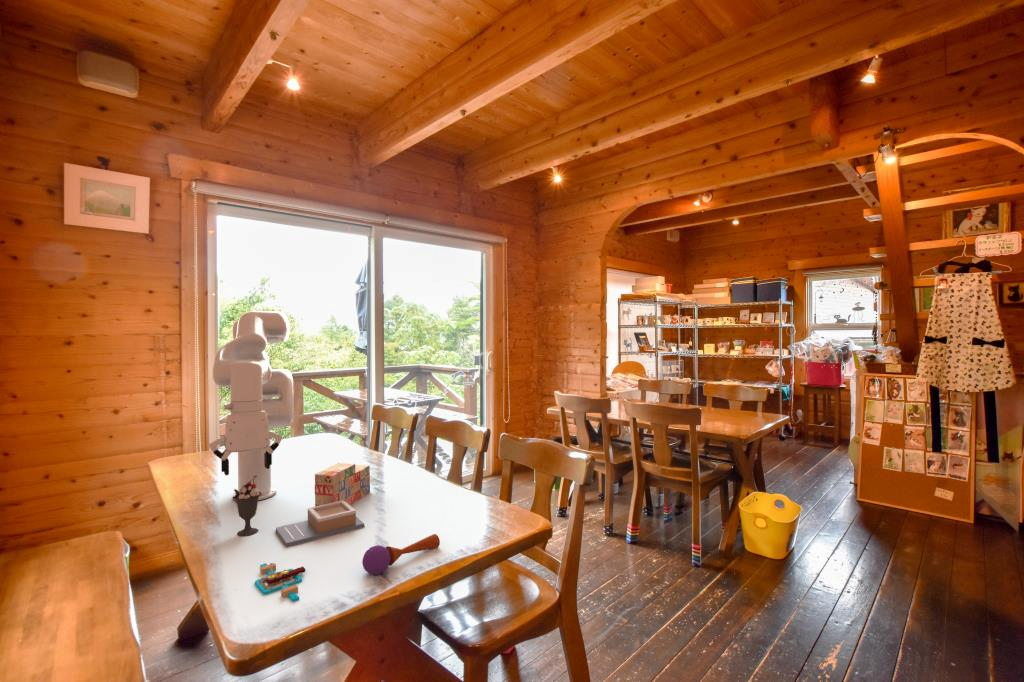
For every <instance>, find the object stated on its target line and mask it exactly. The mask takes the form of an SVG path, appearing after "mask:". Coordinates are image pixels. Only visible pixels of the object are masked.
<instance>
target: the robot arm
mask: <svg viewBox="0 0 1024 682" xmlns="http://www.w3.org/2000/svg"><path fill="white" fill-rule="evenodd" d="M231 328H232V329H231V330H232V331H231V332H232V338H233V339H232V340H230V341H228V342H227V343H226V344H224V345H223V346H221V347H220V348H219V349H218V351H217V353H216V354H215V358H214V362H213V363H214V364H213V368H212V379H213V382H214V383H215V385H217V386H218V387H222V388H229V387H230V394H229V395H230V401H229V403H225V404H224V405H223V409H224V410H228V411H230V412H229V413H227V416H226V422H225V430H224V435H223V436H221V437H219V438H218V439H216V440H215V439H214V440H213V441H212V442H210V443H208V447H209V448H210V450H211V451H212V453H213V455H214V456H216V457H217V458H219V459H220V461H221V462H220V463H221V466H220V467H221V473H223V472H224V473H223V474H224V475H225V476H229V475H230V460H229V458H228V457H230V455H231V454H232V453H237V484H238V485H237V486H238V487H237V490H238V492H239V491H240V488H241V487H242V486H243V485H246V483H247V482H250V481H251V480H252V481H251V485H252V484H253V480H254V484H256V488H257V489H258V490H259V492H261V494H262V495H261V496H259V498H258V501H261V500H265V499H268V498H271V497H273V496H274V495H275V494H277V488H276V487H275V486H272V468H271V467H272V464H273V455H272V454H274V452H275V450H276V449H278V447H279V446H280V443H281V441H282V440H283V435H281V434H278V433H276V432H273V431H270V430H269V429H271V428H273V429H274V428H284V427H288V426H291V424H292V423H293V421H294V415H295V405H294V401H295V400H294V399H295V398H294V397H295V396H294V379H293V376H292V373H291V372H290V370H287V369H284V368H277V369H276V368H274V369H273V368H272V366H271V365H270V358H269V355H268V354H267V353H266V351H265V350H266V348H267V346H268V344H276V343H277V344H280V343H282V344H283V343H285V342H286V341H288V339H289V335H290V323H289V318H288V317H287V315H286V314H285V313H283V312H282V311H264V310H263V311H262V310H261V311H259V310H253V311H252V310H251V311H247V312H244V313H242V314H241V315H240V316H239V318H238V320H235V321H234V322H233V324H232V327H231ZM263 398H264V399H263ZM268 398H269V399H268ZM270 437H271V438H272V439H274V442H273V443H271V440H270ZM222 443H224V447H225V449H224V450H223V451H220V450H219V449H218V446H219V445H221V444H222ZM254 476H257V477H256V478H255V477H254ZM253 477H254V478H255V479H254V478H253ZM235 495H236V493H235V492H234V493H233V494H232V498H233V497H234V496H235ZM233 500H234V501H236V500H235V499H233Z"/></svg>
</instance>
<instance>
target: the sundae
mask: <svg viewBox="0 0 1024 682" xmlns="http://www.w3.org/2000/svg"><path fill="white" fill-rule="evenodd" d="M254 477H255V478H256V477H257V476H254ZM254 477H253V478H254ZM255 478H254V479H255ZM251 481H252V480H251ZM251 481H250V482H247V483H246V485H243V486H242V487H241V488H240V491H239V492H238V489H236V488H234V489H233V491H234V493H236V495H235V496H234V497H233V496H232V499H233V500H234V499H235V500H236V504H237V513H238V516H239V518H241V519H242V520H244V522H245V523H244V527H243V529H241V530H239V531H237V533H236V534H237V535H238V537H239V536H240V537H247V536H252V535H254V534H256V533H258V531H259V529H258V528H257V527H252V526H251V519H253V517H254V516H256V515H257V510H258V509H257V508H258V501H259V500H258V498H259V496H261V495H262V494H261V492H259V490H258V489H257V488H256V484H254V480H253V484H252V485H251ZM235 500H234V501H235Z"/></svg>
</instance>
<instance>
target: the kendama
mask: <svg viewBox="0 0 1024 682" xmlns="http://www.w3.org/2000/svg"><path fill="white" fill-rule="evenodd" d="M440 544H441V542H440V538H439V535H437V534H436V533H434V534H431V535H429V536H427V537H425V538H422V539H420V540H418V541H416V542H414V543H412V544H409V545H408V546H405V547H403V548H397V547H393V546H389V545H388V546H383V545H379V544H377V545H374V546H371V547H368V549H367V550H366V551H365V552H364V554H363V556H362V559H361V560H362V561H361V563H362V567H363V569H364V571H365V572H366V573H368V574H369V575H374V576H377V575H380V574H383V573H384V572H385V571H386V570H387V569H388V568H389V567H390V566H392V565H394V563H395V562H396V561H397V560H399V558H400V557H401V556H402V555H406V554H411V553H417V552H422V551H426V550H427V551H428V550H432V549H437V548H439V547H440Z"/></svg>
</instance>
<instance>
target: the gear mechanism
mask: <svg viewBox="0 0 1024 682" xmlns="http://www.w3.org/2000/svg"><path fill="white" fill-rule="evenodd" d="M275 571H277V564H276V563H273V561H270V562H269V564H268V563H266V562H265V563H261V564H260V574H261V575H266V576H263V577H261V578H259V579H256V580H255V581H254V585H255V587H256V588H257V589H258V590H259V591H260V592H261V594H262V595H263V596H264V595H265V596H267V595H269V594H272V593H275V592H278V591H281V592H280V594H281V595H280V596H281V597H282V598H283V599H284V598H289V600H290V601H291V602H292V603H295V602H297V601H300V596H299V595H298V593H299V587H298V585H297V584H300V583H302V582H303V577H302V576H301V574H302V573H306V568H305V567H304V566H300V567H296V568H294V569H293V568H288V569H284V570H280V571H277V572H275ZM293 577H294V578H293ZM265 583H267V585H266V584H265Z"/></svg>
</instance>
